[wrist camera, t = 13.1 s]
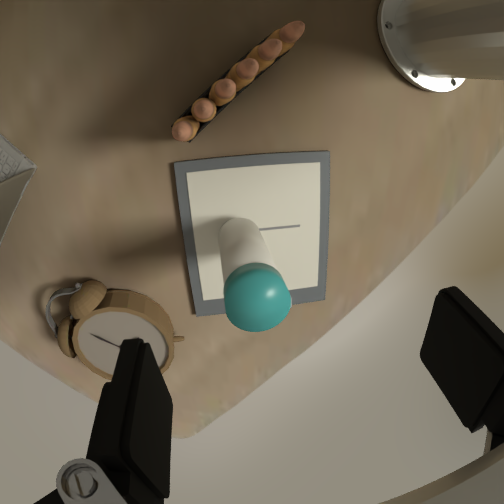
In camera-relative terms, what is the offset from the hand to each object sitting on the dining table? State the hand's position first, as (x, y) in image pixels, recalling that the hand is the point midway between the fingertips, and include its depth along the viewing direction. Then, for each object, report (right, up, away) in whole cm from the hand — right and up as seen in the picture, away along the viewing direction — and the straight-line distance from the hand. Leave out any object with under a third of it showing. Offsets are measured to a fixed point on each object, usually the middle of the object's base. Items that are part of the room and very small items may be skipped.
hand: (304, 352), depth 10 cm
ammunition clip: (-4, +17, +16) cm, 24 cm away
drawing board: (-1, +4, +22) cm, 22 cm away
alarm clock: (-17, -5, +24) cm, 30 cm away
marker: (-3, +5, +21) cm, 21 cm away
